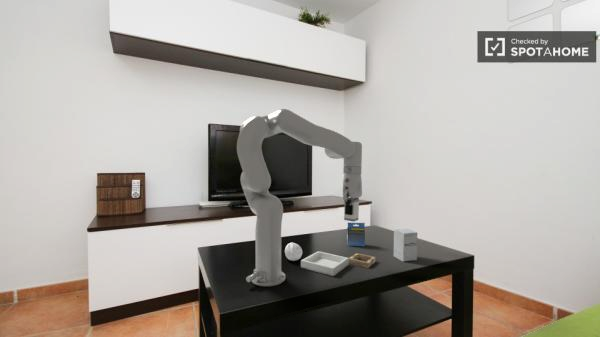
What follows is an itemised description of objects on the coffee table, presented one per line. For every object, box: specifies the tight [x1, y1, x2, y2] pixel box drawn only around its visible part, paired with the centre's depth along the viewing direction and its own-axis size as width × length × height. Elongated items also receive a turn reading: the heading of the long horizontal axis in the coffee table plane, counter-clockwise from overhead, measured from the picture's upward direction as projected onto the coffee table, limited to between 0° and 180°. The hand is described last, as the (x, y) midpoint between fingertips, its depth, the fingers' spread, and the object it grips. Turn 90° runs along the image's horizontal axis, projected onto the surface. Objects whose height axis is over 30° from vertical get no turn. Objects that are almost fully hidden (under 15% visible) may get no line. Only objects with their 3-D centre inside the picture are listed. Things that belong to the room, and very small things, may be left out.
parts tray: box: [300, 250, 350, 277], centre depth 114 cm, size 14×15×3 cm
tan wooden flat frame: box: [348, 252, 377, 269], centre depth 118 cm, size 9×9×2 cm
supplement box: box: [393, 228, 418, 262], centre depth 123 cm, size 7×7×13 cm
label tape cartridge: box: [346, 222, 366, 247], centre depth 142 cm, size 9×4×12 cm, turn 84°
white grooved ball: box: [284, 242, 303, 262], centre depth 121 cm, size 8×8×8 cm
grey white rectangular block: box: [343, 198, 360, 223], centre depth 116 cm, size 4×4×9 cm
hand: (351, 213), depth 116 cm, fingers closed on grey white rectangular block, 4 cm apart
